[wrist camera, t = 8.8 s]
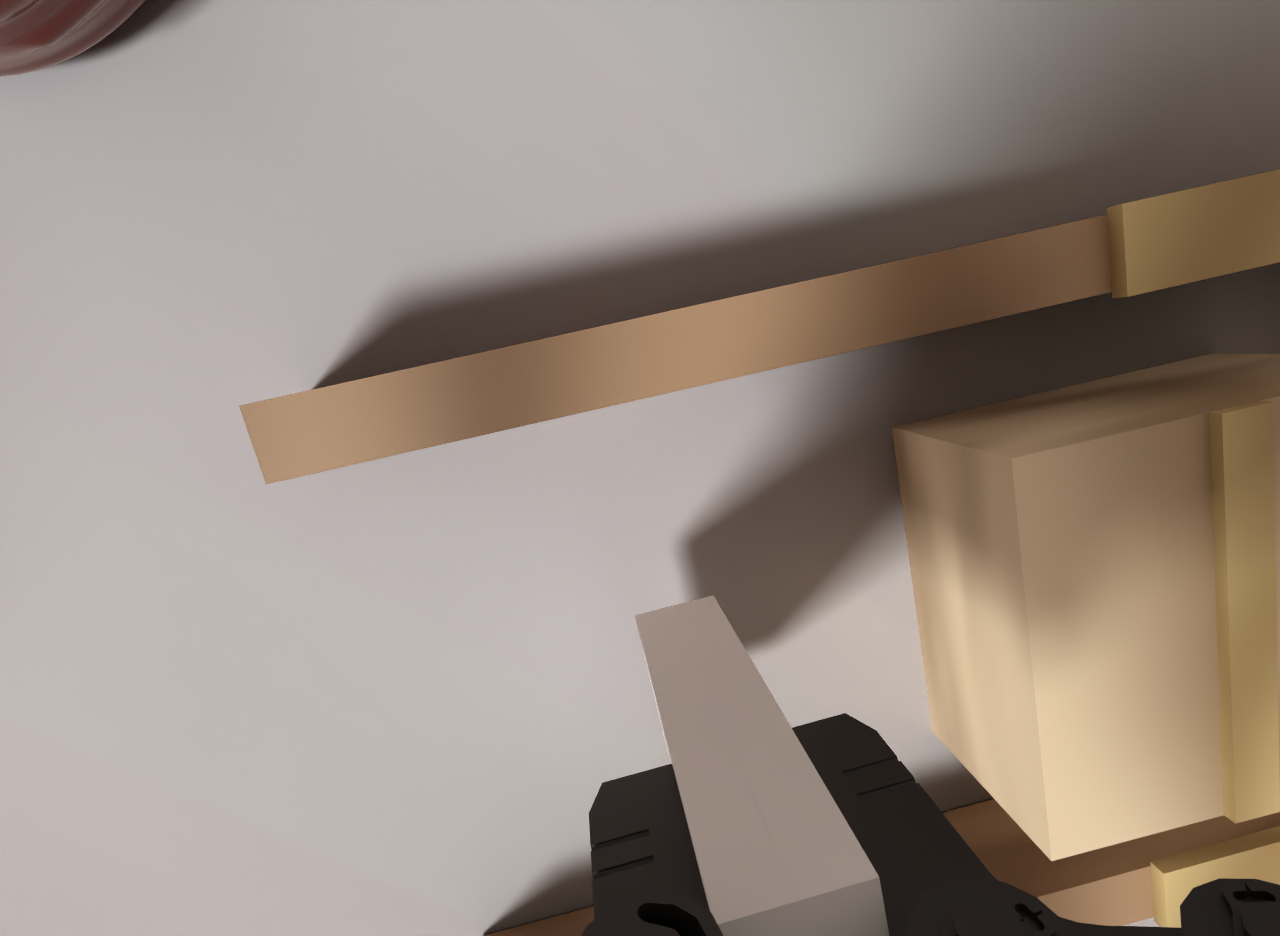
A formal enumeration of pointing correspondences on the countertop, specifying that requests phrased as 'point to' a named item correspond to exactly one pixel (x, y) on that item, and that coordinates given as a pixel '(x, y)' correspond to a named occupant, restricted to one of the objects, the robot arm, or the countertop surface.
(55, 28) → the mug
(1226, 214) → the beam slot
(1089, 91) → the countertop surface
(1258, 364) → the block
